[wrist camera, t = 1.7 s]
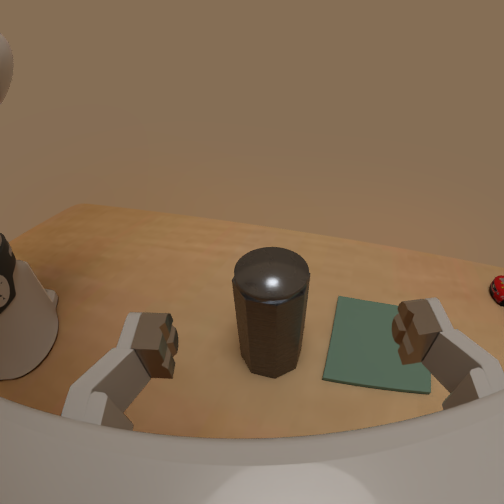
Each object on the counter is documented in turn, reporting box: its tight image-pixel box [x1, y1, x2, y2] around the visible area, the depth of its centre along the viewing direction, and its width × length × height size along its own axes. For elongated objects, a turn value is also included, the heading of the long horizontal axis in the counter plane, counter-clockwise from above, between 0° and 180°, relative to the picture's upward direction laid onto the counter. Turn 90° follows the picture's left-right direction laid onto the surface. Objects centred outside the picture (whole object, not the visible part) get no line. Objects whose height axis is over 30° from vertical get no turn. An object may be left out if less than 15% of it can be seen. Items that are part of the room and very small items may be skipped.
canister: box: [232, 247, 310, 378], centre depth 29 cm, size 6×6×12 cm
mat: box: [322, 296, 431, 394], centre depth 32 cm, size 12×12×1 cm
